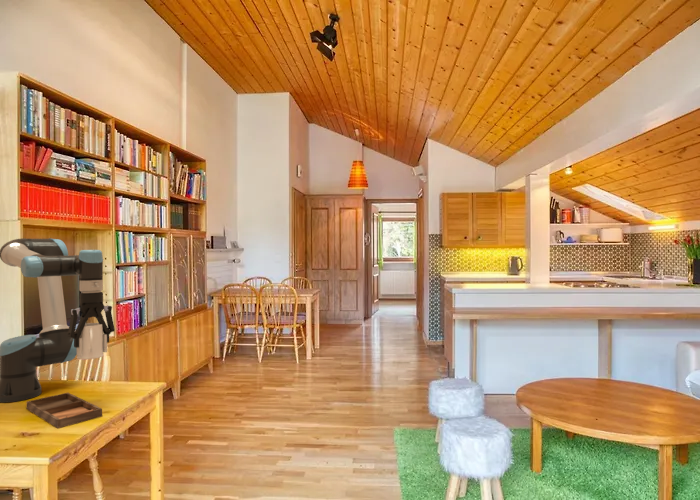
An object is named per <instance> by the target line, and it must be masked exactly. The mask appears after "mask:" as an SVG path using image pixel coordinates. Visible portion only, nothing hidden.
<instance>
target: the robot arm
mask: <svg viewBox="0 0 700 500" xmlns="http://www.w3.org/2000/svg"><path fill="white" fill-rule="evenodd" d="M0 260H1V262H3V263H4V264H5V265H7V266H10V267H18V268H20V272H21V274H22V275H23V277H25V278H37V287H38V295H39V303H40V304H39V305H40V315H41V323H42V330H40V332H39V333H38V337H37V336H36V335H35V334H25V335H18V336H15V337H11V338H8V339H6V340H4V341H2V342H1V343H0V403H12V402H21V401H26V400H30V399H33V398H36V397H38V396H40V395H42V385H41V383H40V380H39V378H38V376H37V368H38V367H43V366H49V365H54V364H55V365H57V364H63V363H66V362H71V361H73V360H74V359H75V358H76V357H77V356H79V357H82V338H80V335H81V333H82V331H83V328H84V326H85V324H87V321H88V320H89V319H90V318H95V319H96V321H97V323H99V324H102V326H103V353H107V352H108V343H109V342H110V334H111V333H113V332H115V326H114V325H115V324H114V320H113V313H112V310H113V306H112V305H104V293H103V290H104V278H103V276H104V270H103V269H104V268H103V266H104V258H103V252H102V250H100V249H80V251H79V252H78V255H76V254H74V255H69V251H68V247H67V245H66V244H65V242H64V241H63V240H61V239H60V238H59V239H58V238H57V239H56V238H26V237H25V238H16V239H12V240H10V241H7V242H6V243H4V244H3V245H2V246H1V247H0ZM67 276H78V277H79V279H78V280H79V284H78V285H79V292H80V293H79V306H78V307H77V308H75V309H74V308H71V309H70V310H69V313H70V320H69V325H68V324H67V323H68V322H67V316H66V314H67V313H66V305H65V299H64V298H65V297H64V290H63V288H64V287H63V281H62V277H67ZM103 311H104V313H105V314H104V315H105V319H104V316H103V314H102V312H103ZM79 313H81V315H80V318H79V319H80V320H79V322H78V324H77V321H78V315H79ZM105 320H106V322H105Z"/></svg>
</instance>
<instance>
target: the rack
mask: <svg viewBox="0 0 700 500" xmlns="http://www.w3.org/2000/svg"><path fill="white" fill-rule="evenodd" d="M26 410H28V411H30V412H31V413H32V414H34V415H35V416H37V417H39V418H40V419H42V420H44V421H45V422H47V423H49V424H50V425H52V426H54V428H56V429H60V428H64V427H68V426H72V425H75V424H79V423H82V422H86V421H87V422H88V421H90V420H93V419H97V418H101V417H103V408H102V407H99V406H97V405H95V404H93V403H91V402H88V401H87V400H85V399H83V398H81V397H78V396H77V395H74V394H71V393H70V392H64V393H61V394H55V395H50V396H46V397H42V398H37V399H33V400H29V401H26Z"/></svg>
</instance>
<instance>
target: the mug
mask: <svg viewBox="0 0 700 500" xmlns="http://www.w3.org/2000/svg"><path fill="white" fill-rule="evenodd" d="M103 334H104V333H103V326H102V324H99V322H88V323H87V322H86V323H85V326H84V328H83V331H82V333H81V335H80V338H82V357H79V356H77V355H76V359H77V360H80V361H81V360H84V361H85V360H87V361H88V360H94V359H100V358H103V357H104V352H103Z"/></svg>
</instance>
